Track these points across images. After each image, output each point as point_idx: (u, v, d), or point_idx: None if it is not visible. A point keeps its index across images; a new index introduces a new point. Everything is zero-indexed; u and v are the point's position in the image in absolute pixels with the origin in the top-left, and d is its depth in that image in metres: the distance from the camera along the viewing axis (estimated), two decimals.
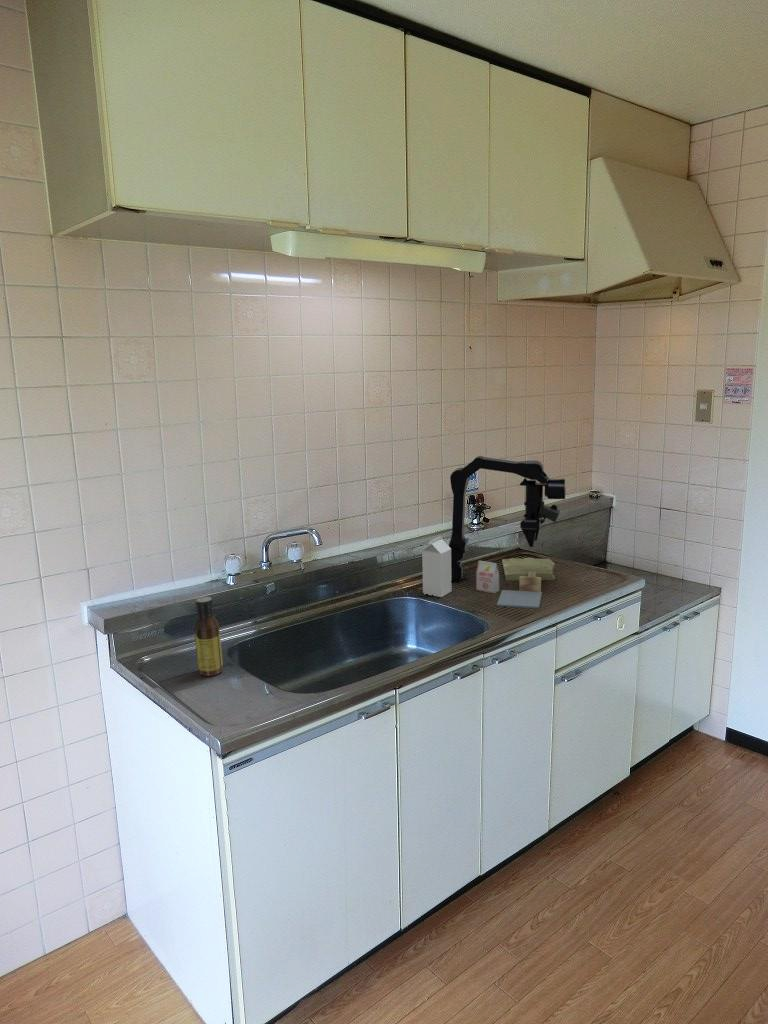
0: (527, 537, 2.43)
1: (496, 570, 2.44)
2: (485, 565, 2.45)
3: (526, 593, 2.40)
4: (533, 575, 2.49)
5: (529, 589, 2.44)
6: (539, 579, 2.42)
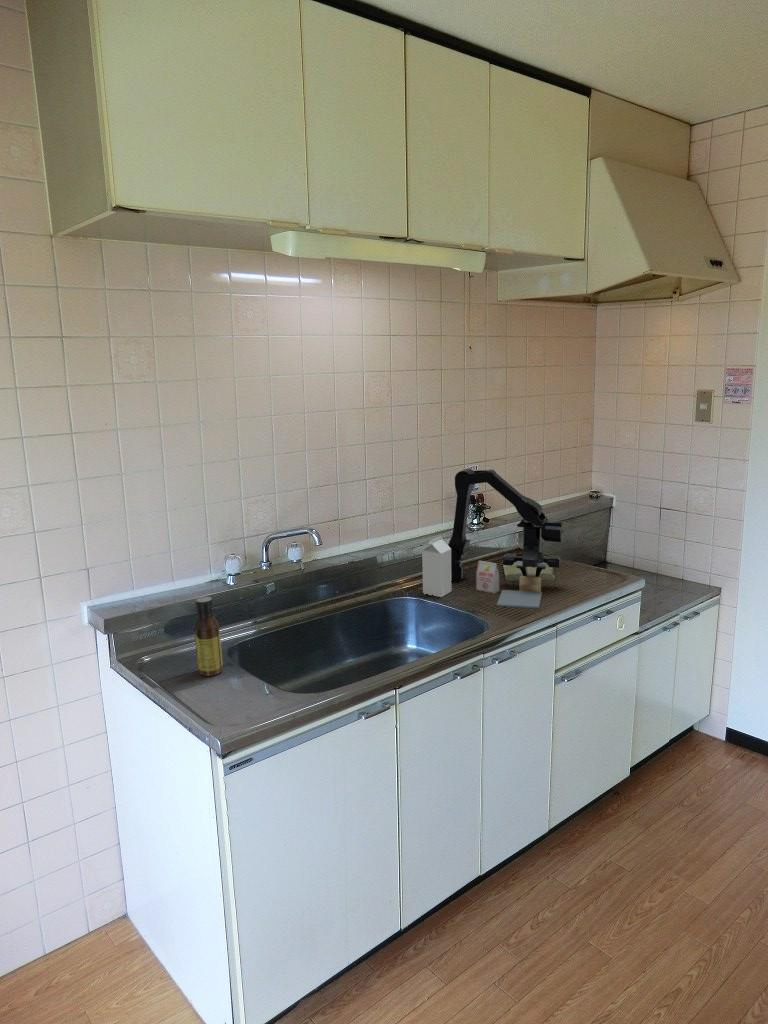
0: None
1: (496, 570, 2.44)
2: (485, 565, 2.45)
3: (526, 593, 2.40)
4: (533, 575, 2.49)
5: (529, 589, 2.44)
6: (539, 579, 2.42)
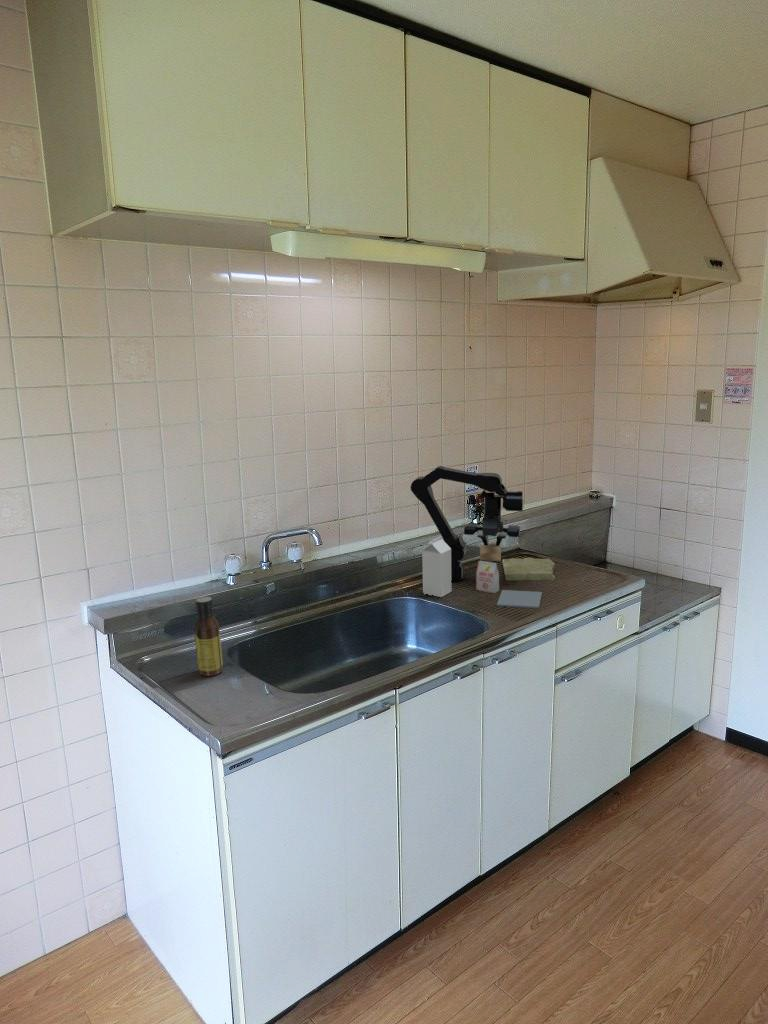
0: None
1: (496, 570, 2.44)
2: (485, 565, 2.45)
3: (526, 593, 2.40)
4: (494, 544, 2.55)
5: (489, 557, 2.50)
6: (499, 548, 2.49)
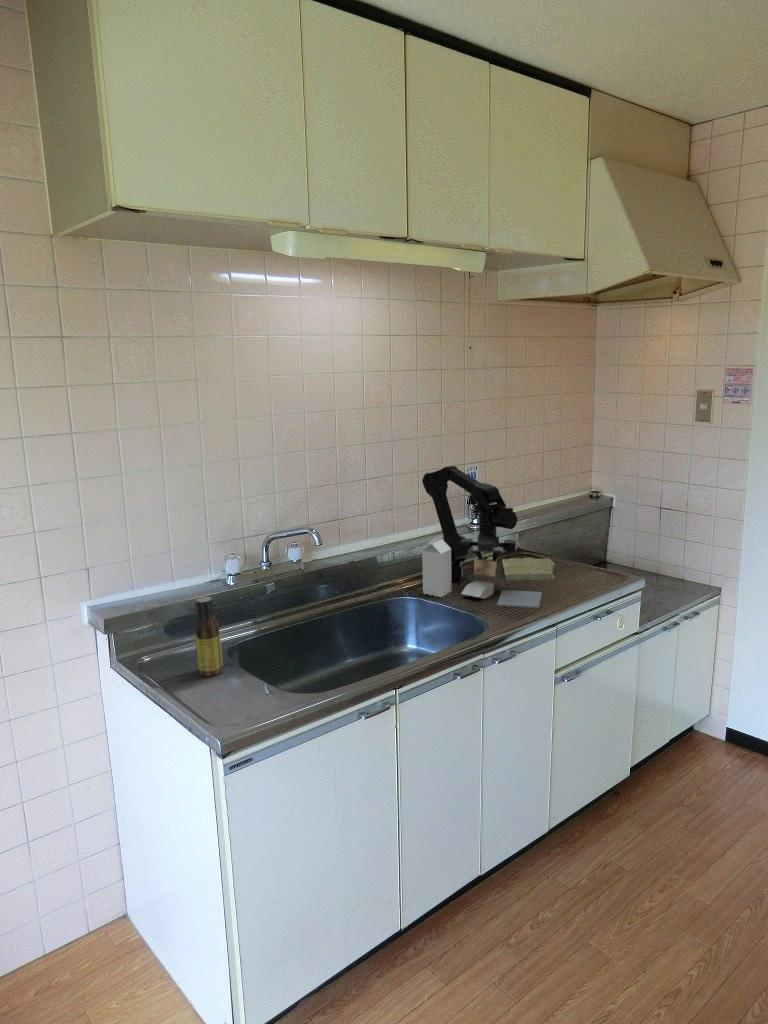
0: None
1: (482, 592, 2.37)
2: (470, 595, 2.38)
3: (526, 593, 2.40)
4: (491, 560, 2.46)
5: (483, 572, 2.42)
6: (493, 563, 2.40)
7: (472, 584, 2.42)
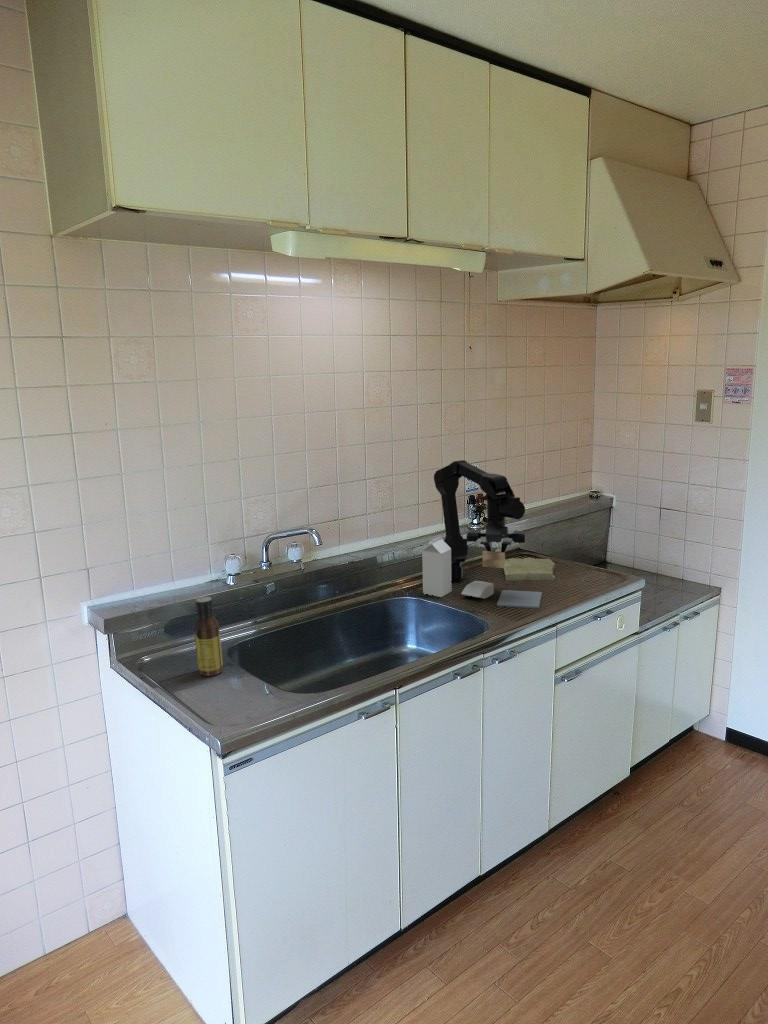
0: None
1: (482, 592, 2.37)
2: (470, 595, 2.38)
3: (526, 593, 2.40)
4: (499, 551, 2.39)
5: (492, 564, 2.35)
6: (502, 554, 2.33)
7: (472, 584, 2.42)
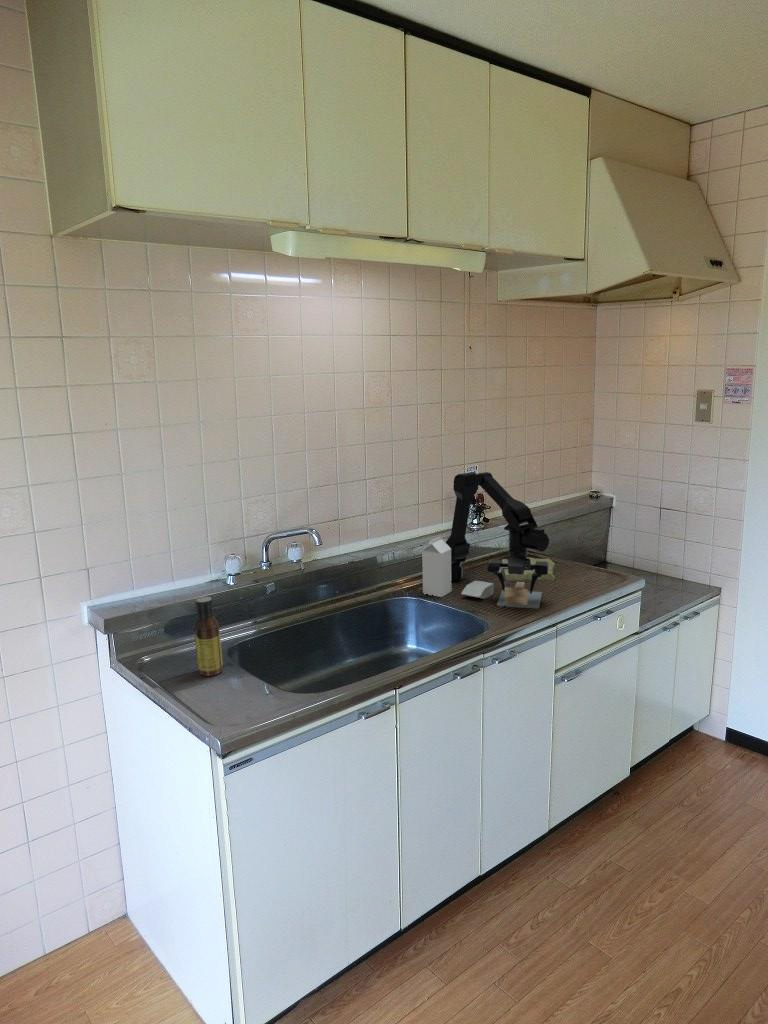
0: None
1: (482, 592, 2.37)
2: (470, 595, 2.38)
3: None
4: (520, 586, 2.35)
5: (515, 601, 2.30)
6: (525, 591, 2.28)
7: (472, 584, 2.42)
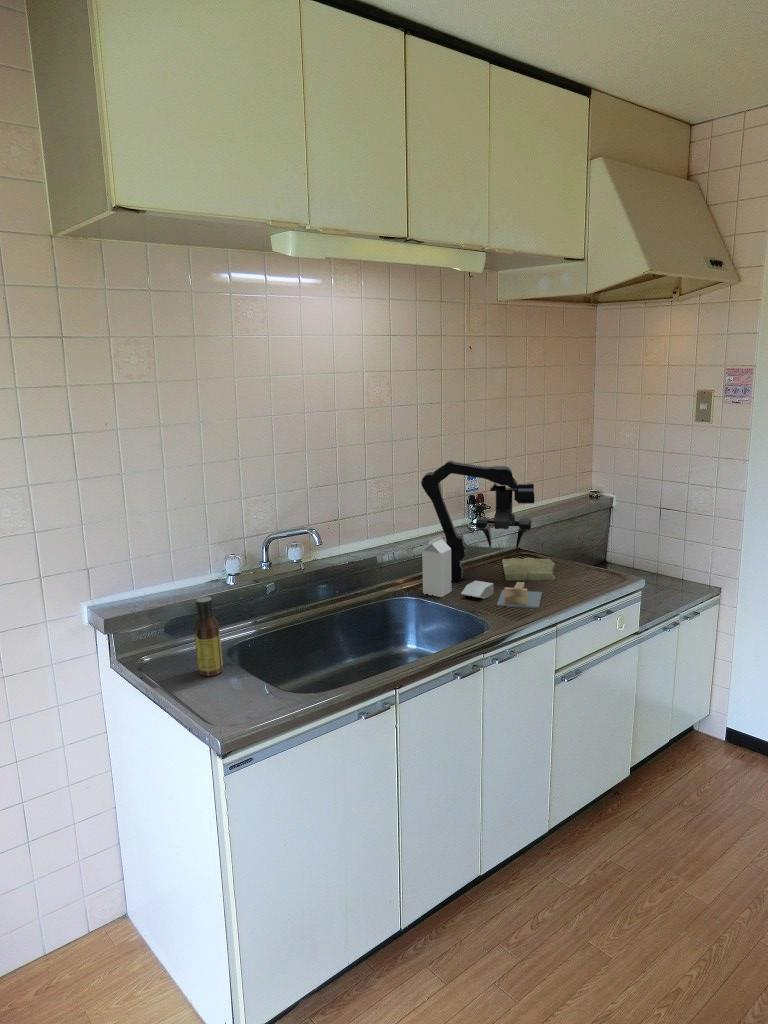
0: None
1: (482, 592, 2.37)
2: (470, 595, 2.38)
3: None
4: (520, 586, 2.35)
5: (515, 601, 2.30)
6: (525, 591, 2.28)
7: (472, 584, 2.42)
